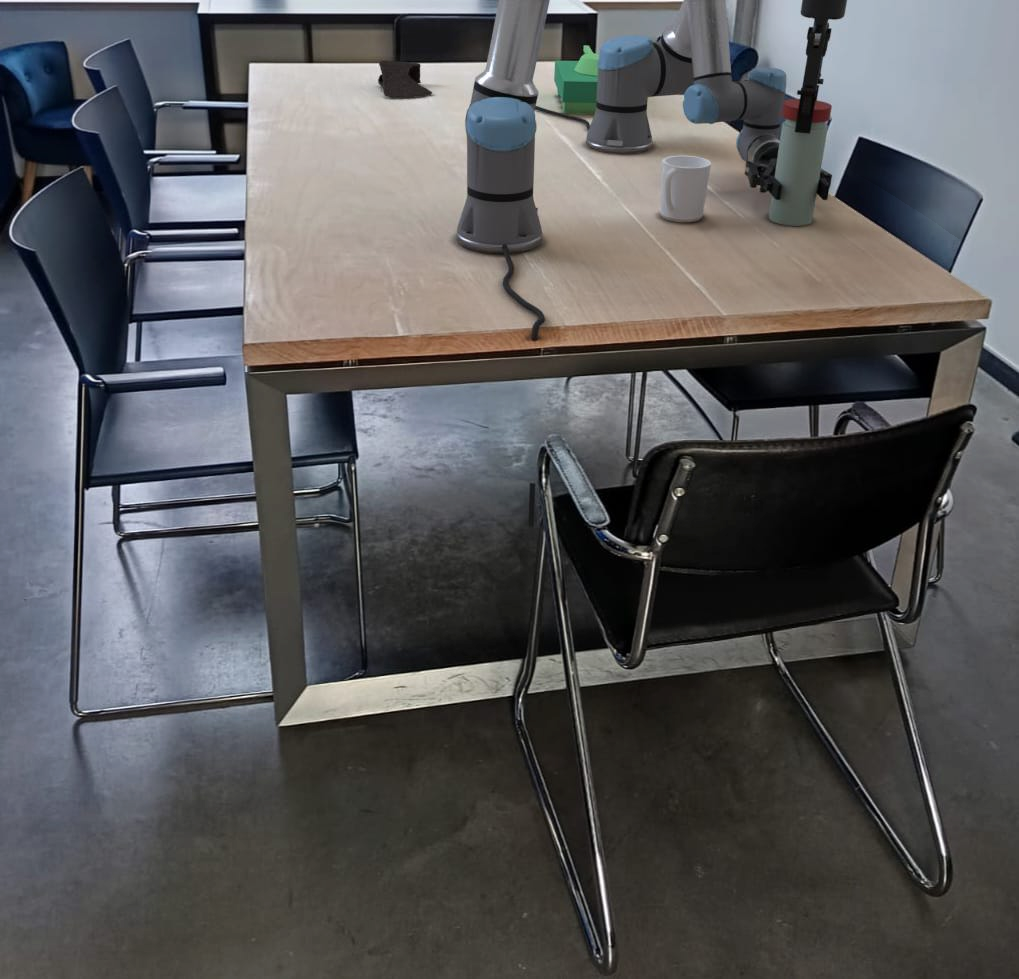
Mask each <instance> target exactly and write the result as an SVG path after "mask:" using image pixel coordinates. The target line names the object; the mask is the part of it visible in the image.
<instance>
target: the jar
mask: <svg viewBox="0 0 1019 979" xmlns="http://www.w3.org/2000/svg"><path fill="white" fill-rule="evenodd" d="M826 122H827V121H826ZM826 122H818V123H812V125H811V131H810V134H808V133H798V132H795V127H796V121H793V120H789V119H786V118H785V120H784V121H782V124H781V131H780V136H779V137H780V138H779V141H780V144H779V150H778V157H777V164H776V171H775V178H776V179H777V180H778V181H779V183H780V184H781V185H782V190H781V197H780V200H776V199H775V198H774V197H773V196H772V195H771V199H770V204H769V212H768V219H769V221H771V222H773V223H775V224H779V225H783V226H788V227H789V226H791V227H803V226H807V225H810V224H811V223H813V219H814V212H815V207H816V201H817V196H818V194H817V189H818V183H819V177H820V171H821V169H822V165H823V158H824V153H825V146H826V142H827V135H828V129H829V125H828V124H826Z"/></svg>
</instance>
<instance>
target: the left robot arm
mask: <svg viewBox="0 0 1019 979" xmlns="http://www.w3.org/2000/svg"><path fill="white" fill-rule="evenodd" d="M550 1H551V0H498V3H497V4H498V5H497V8H496V14H495V18H494V23H493V24H494V25H493V30H492V34H491V39H490V45H489V50H488V54H487V60H486V66H485V69H484V71H482V72H481V73H479V74H478V75H477V76H475V78H474V83H473V88H472V93H471V99H470V102H469V103H470V104H469V105H468V108H467V110H466V113H465V120H464V127H465V133H466V192H467V193H466V198H465V202H464V205H463V209H462V211H461V214H460V218H459V220H458V224H457V228H456V241H457V243H458V244H459V245H461V246H462V247H464V248H466V249H468V250H470V251H475V252H479V253H486V254H497V255H499V254H500V255H504V258H505V262H506V264H507V268H508V270H507V272H506V274H505V276H504V277H503V279H502V287H503V288H504V291H505V292H506V293H507V294H508V295H509V297H511V298H512V299H513V300H514V301H516V302H517V303H518V304H519V306H521V307H523V308H524V309H527V310H528V311H530V312H532V314H534V315H536V316H537V320H536V321H535V322H534V323H533V325H532V328H531V336H530V338H531V339H530V340H531V341H532V342H537V341H538V336H539V335H538V334H539V330H540V327H541V326H542V325H543V324H544V323H545V321H546V317H545V314H544V313H543V312H542V310H540V309H539V308H538V307H537V306H535V305H533V304H532V303H530V302H528V301H527V300H525V299H524V298H522V297H521V295H519V294H518V293H517V292H516V291H515V290H514V289H512V287H511V286H510V284H509V281H510V280H511V278H512V277H513V275H514V271H515V265H514V262H513V259H512V256H511V254H517V253H524V252H527V251H530V250H533V249H536V248H538V247H539V246H540V245H541V244H542V243H543V229H542V224H541V221H540V220H541V219H540V218H539V214H538V213H539V212H538V211H539V209H538V207H537V206H536V204H535V199H534V183H535V181H534V180H535V148H536V147H535V146H536V133H537V128H538V127H537V121H536V113H535V112H536V109H535V107H536V106H537V102H538V97H539V90H538V88H537V87H536V85H535V84H534V75H535V71H536V67H537V66H536V65H537V62H538V58H539V57H538V56H539V53H540V47H541V42H542V38H543V34H544V30H545V24H546V19H547V17H548V16H547V15H548V10H549V7H550ZM847 3H848V0H802V1H801V7H800V15H801V16H802V17H803V18H808V19H813V25H812V26H808V29H807V33H806V40H807V42H806V46H805V47H806V49H805V55H806V57H807V58H806V62H805V67H804V74H803V80H802V86H801V88H800V89H797V91H796V95H798V96H799V99H800V101H799V108H798V114H797V120H796V127H795V132H798V133H808V134H810V131H811V125H812V119H813V113H814V107H815V101H816V100H817V101H818V95H819V89H820V85H824V81H825V79H824V78H821V77H822V68H823V67H822V66H823V60H824V57H825V56H826V54H827V51H828V45H829V42H830V40H831V35H832V30H833V29H832V28H830V22H829V20H841V19H843V18H844V17H845V15H846V10H847ZM528 495H529V496H528V520H527V521H528V524H527V525H528V527H532V528H533V527H535V509H536V508H535V507H536V504H535V503H536V483H535V482H529V494H528Z"/></svg>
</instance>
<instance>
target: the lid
mask: <svg viewBox="0 0 1019 979" xmlns="http://www.w3.org/2000/svg"><path fill="white" fill-rule="evenodd" d="M799 101H800V98H793V99H792V98H791V99H786V100H784V102H783V109H782V114H781V118H784V119H785V120H786V119H789V120H793V121H796V120H797V114H798V108H799ZM832 108H833V106H832V104H830V103H828V102H826V101H823V100H818V99H817V100H816V101H815V107H814V113H813V119H812V123H818V122H828V121H829V120H830V119H831V113H832Z"/></svg>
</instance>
